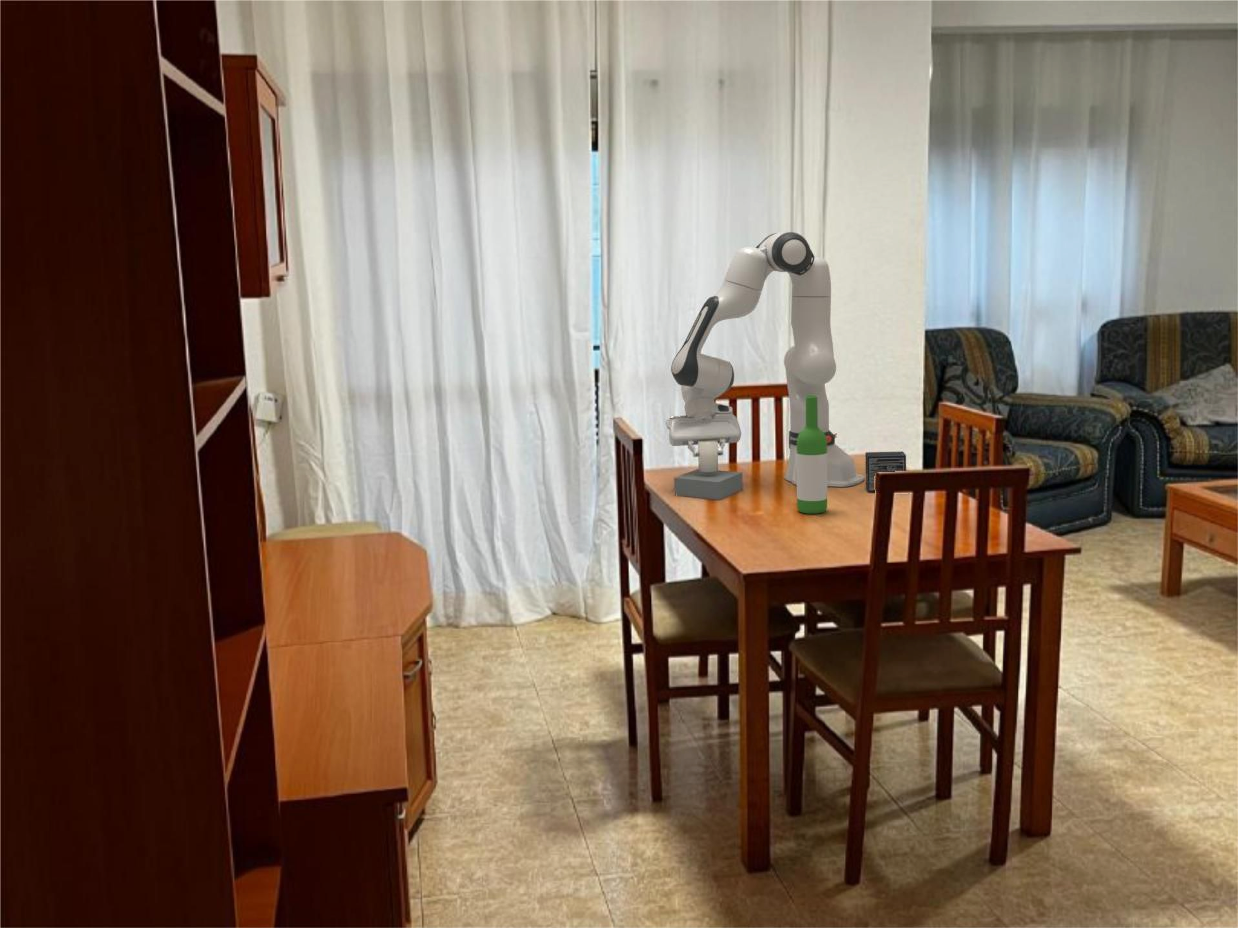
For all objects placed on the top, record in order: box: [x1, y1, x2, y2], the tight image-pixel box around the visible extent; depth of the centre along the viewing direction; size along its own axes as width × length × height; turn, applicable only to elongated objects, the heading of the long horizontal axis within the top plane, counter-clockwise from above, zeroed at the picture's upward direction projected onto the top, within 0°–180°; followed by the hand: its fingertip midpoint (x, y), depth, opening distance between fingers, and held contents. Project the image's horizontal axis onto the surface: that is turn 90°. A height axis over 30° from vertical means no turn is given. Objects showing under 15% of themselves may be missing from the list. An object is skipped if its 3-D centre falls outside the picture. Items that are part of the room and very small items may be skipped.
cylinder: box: [697, 440, 719, 472], centre depth 328 cm, size 6×6×8 cm
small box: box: [865, 450, 907, 494], centre depth 324 cm, size 11×6×10 cm, turn 84°
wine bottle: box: [796, 396, 828, 515], centre depth 302 cm, size 8×8×30 cm
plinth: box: [673, 468, 744, 501], centre depth 330 cm, size 14×14×5 cm
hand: (708, 454), depth 327 cm, fingers closed on cylinder, 5 cm apart
